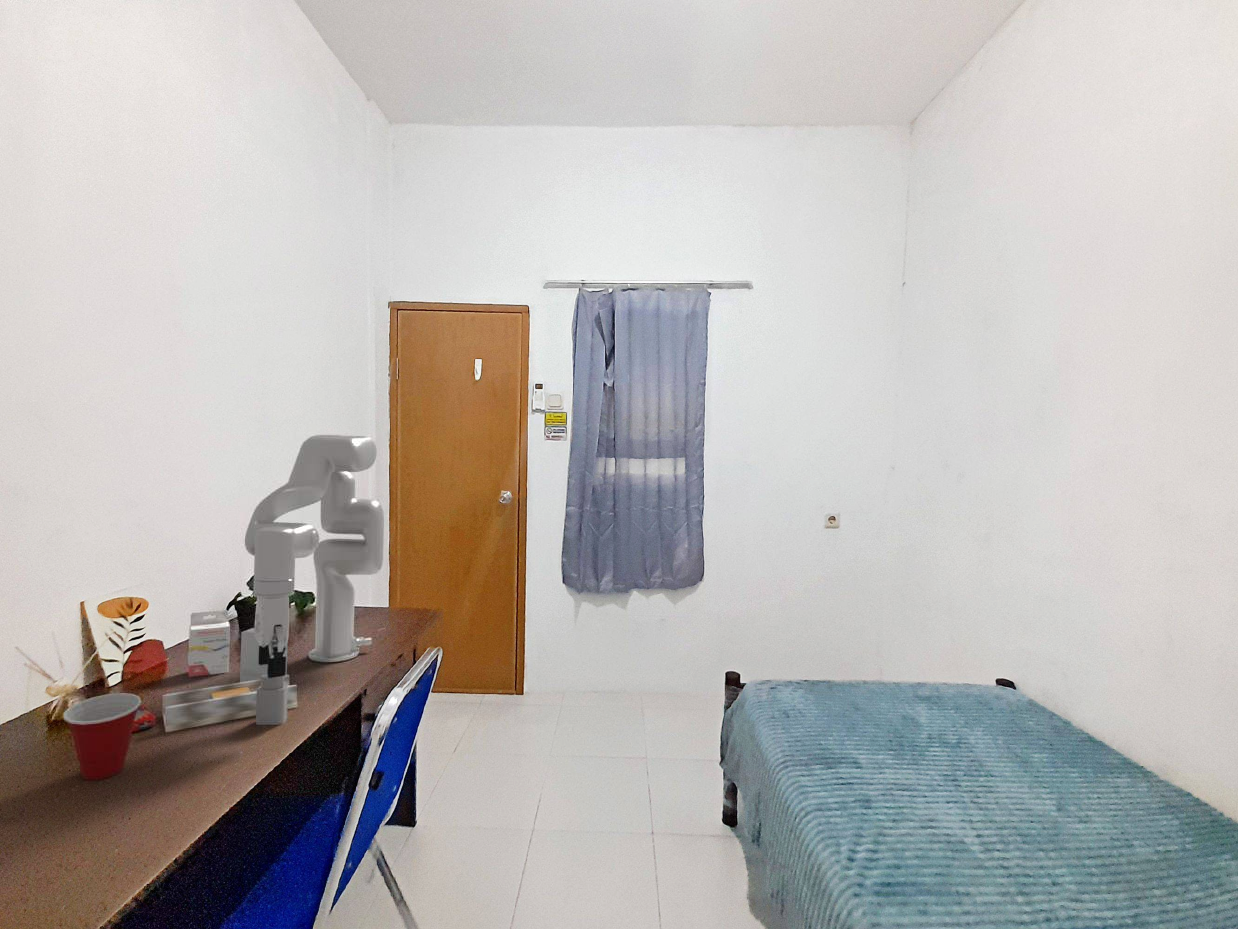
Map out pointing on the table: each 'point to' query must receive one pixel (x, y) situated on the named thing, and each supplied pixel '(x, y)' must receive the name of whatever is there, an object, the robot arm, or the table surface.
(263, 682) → the power adapter
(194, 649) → the ink cartridge box
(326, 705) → the table surface
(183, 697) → the rail board
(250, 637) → the supplement box
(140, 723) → the race car
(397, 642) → the table surface
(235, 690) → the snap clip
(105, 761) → the plastic cup
